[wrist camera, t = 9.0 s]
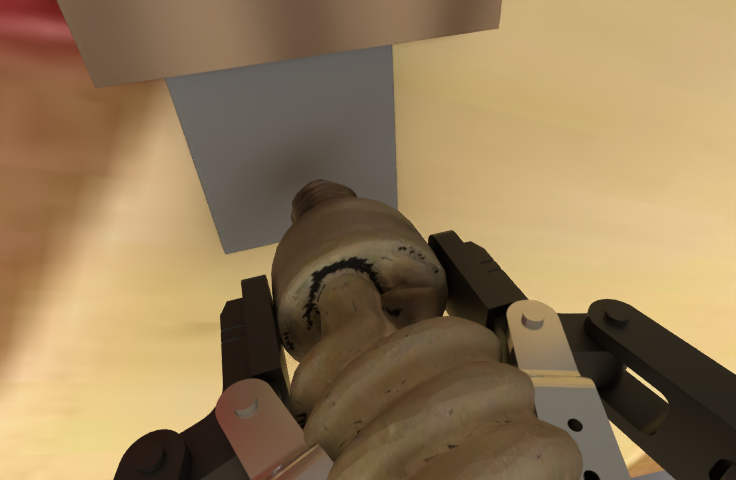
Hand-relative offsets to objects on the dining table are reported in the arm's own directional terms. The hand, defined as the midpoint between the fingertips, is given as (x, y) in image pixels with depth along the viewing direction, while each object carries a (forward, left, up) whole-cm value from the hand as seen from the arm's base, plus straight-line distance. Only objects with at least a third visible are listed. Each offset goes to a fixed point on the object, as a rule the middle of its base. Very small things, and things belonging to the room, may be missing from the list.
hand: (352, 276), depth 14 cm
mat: (0, 0, -11) cm, 11 cm away
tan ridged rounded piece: (0, 0, -6) cm, 6 cm away
